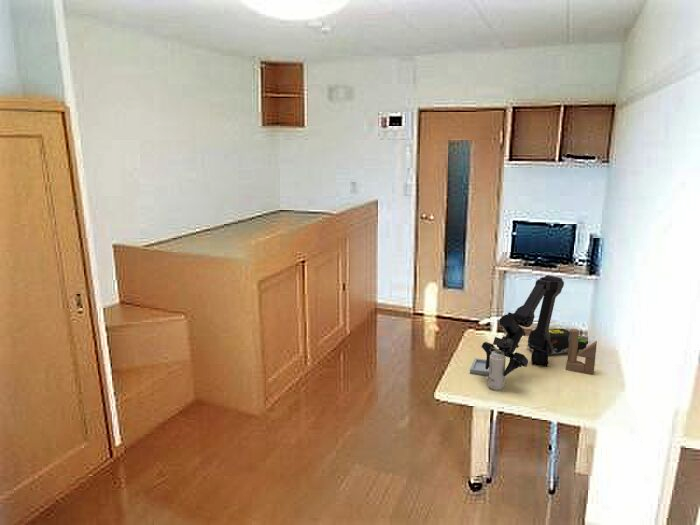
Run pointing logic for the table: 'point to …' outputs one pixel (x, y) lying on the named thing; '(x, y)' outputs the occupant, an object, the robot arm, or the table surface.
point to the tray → (479, 367)
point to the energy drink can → (496, 370)
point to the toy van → (562, 341)
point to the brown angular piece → (586, 352)
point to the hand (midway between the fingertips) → (494, 372)
